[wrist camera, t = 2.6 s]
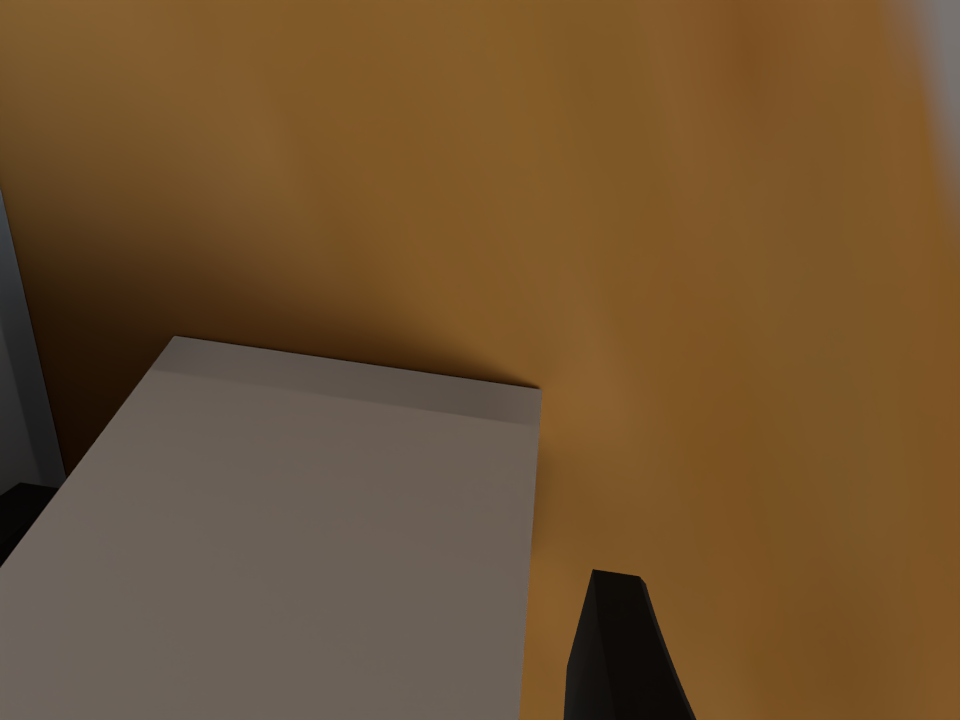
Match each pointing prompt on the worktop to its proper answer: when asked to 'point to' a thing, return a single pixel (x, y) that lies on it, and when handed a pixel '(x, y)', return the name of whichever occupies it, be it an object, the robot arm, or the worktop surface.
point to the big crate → (22, 386)
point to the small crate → (281, 549)
